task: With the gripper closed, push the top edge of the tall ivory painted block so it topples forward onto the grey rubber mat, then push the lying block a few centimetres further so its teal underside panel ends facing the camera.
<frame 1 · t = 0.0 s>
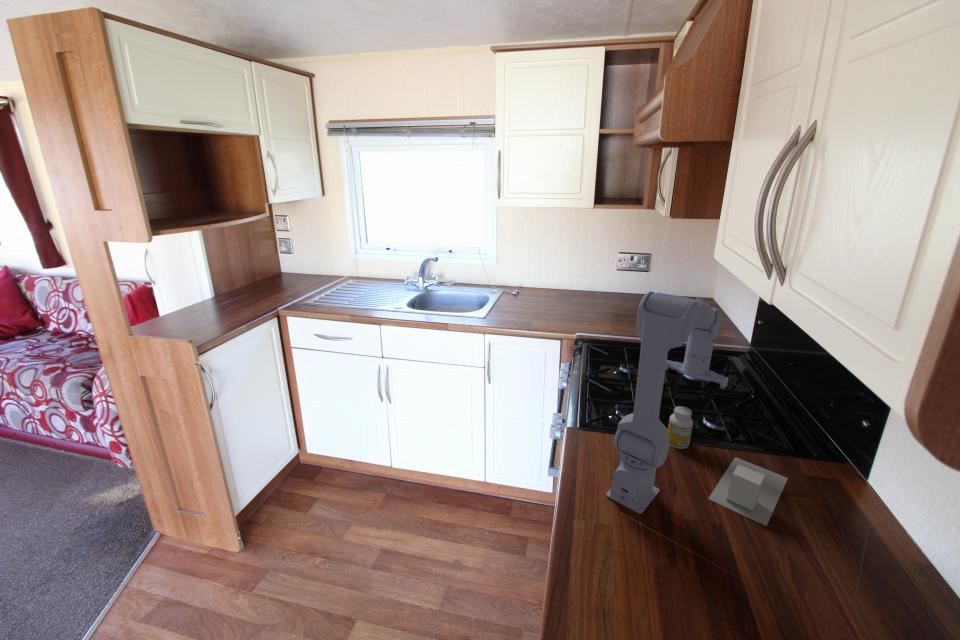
hand: (689, 402, 115), 10 cm above the counter, fingers open, 7 cm apart
supplement bottle: (677, 443, 116), on the counter
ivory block: (741, 501, 96), resting on grey mat
grey mat: (748, 489, 100), on the counter
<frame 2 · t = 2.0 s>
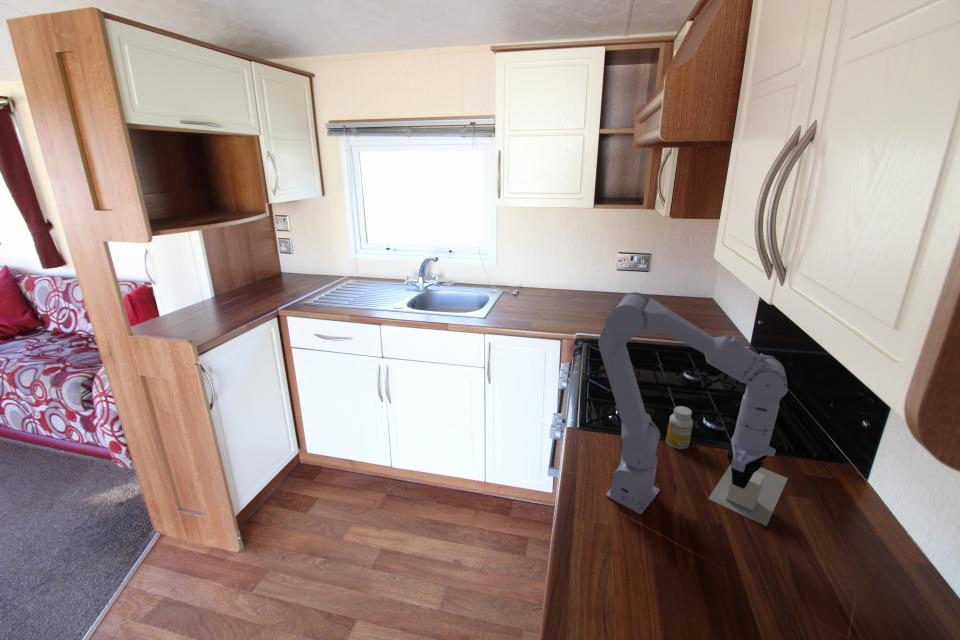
hand: (740, 482, 88), 10 cm above the counter, fingers closed
nothing on the counter moved.
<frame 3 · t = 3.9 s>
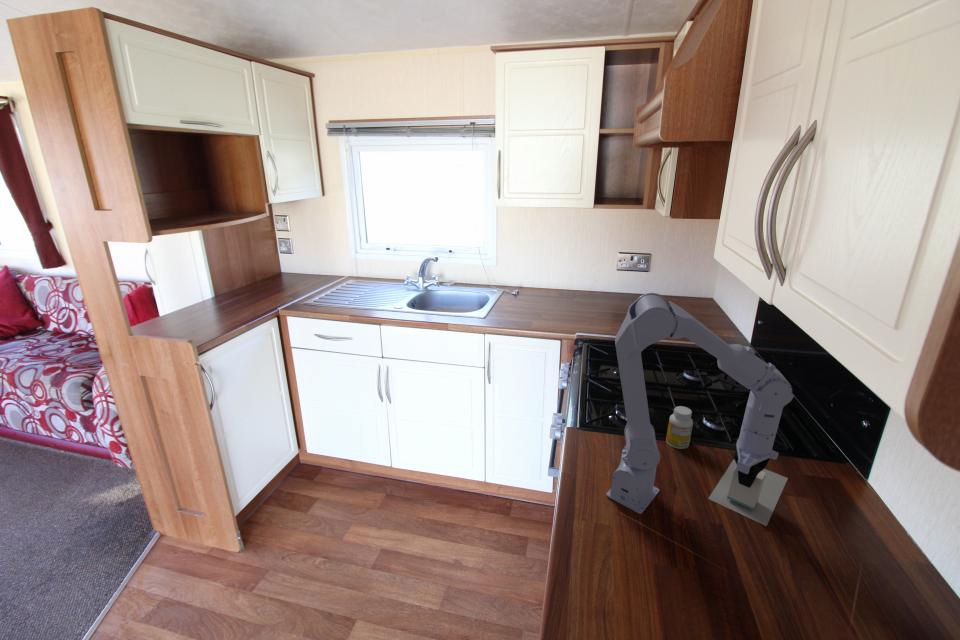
hand: (745, 484, 93), 6 cm above the counter, fingers closed
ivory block: (742, 500, 96), point 1 cm above the counter, tilted 10°, touching grey mat
everything else where it was.
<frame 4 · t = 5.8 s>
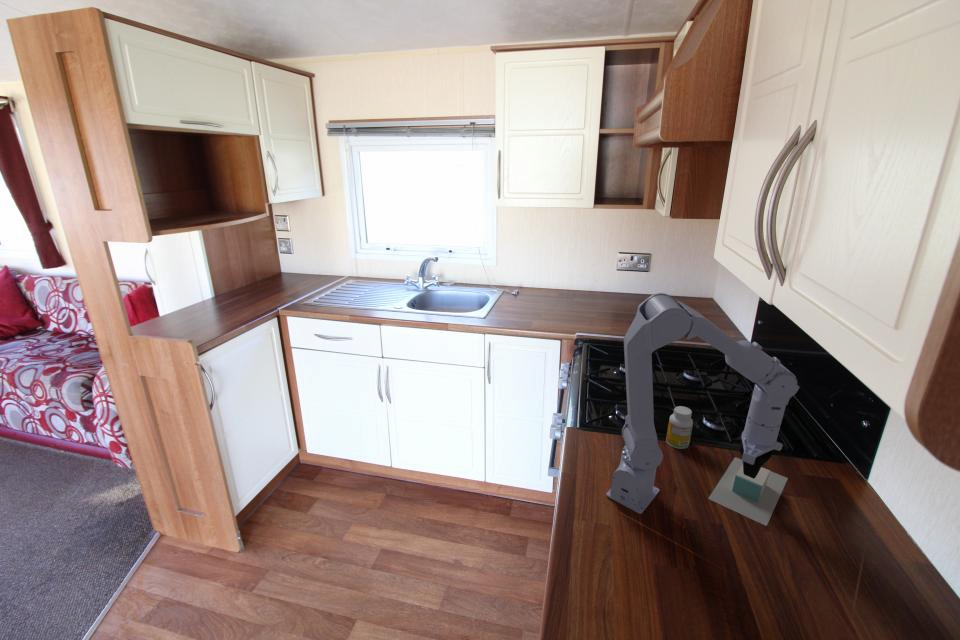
hand: (749, 475, 95), 6 cm above the counter, fingers closed
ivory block: (746, 488, 97), point 2 cm above the counter, tilted 90°, touching grey mat
everything else where it was.
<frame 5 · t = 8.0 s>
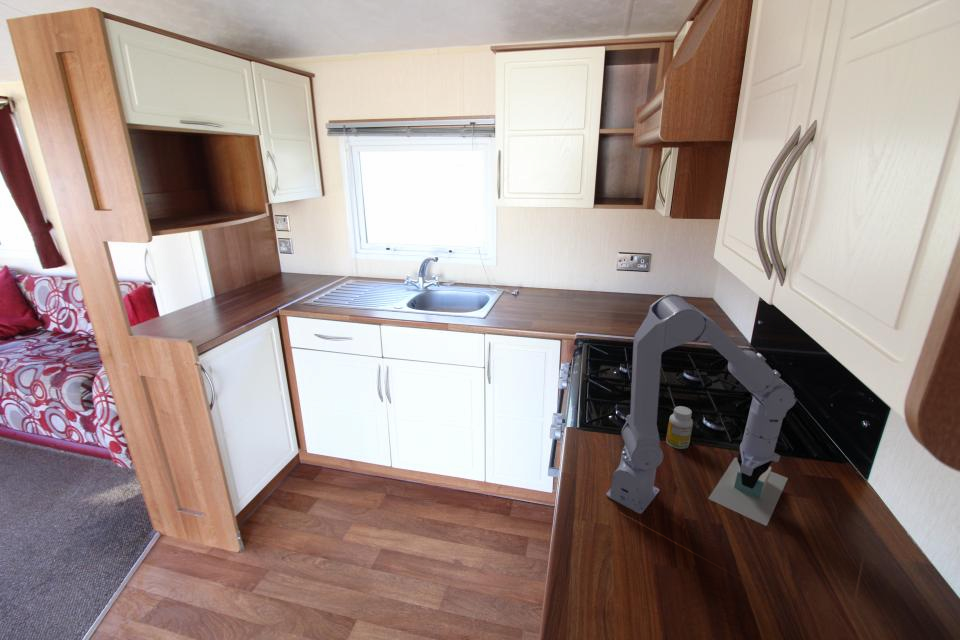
hand: (748, 485, 97), 3 cm above the counter, fingers closed
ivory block: (748, 485, 98), point 2 cm above the counter, tilted 90°, touching grey mat
everything else where it was.
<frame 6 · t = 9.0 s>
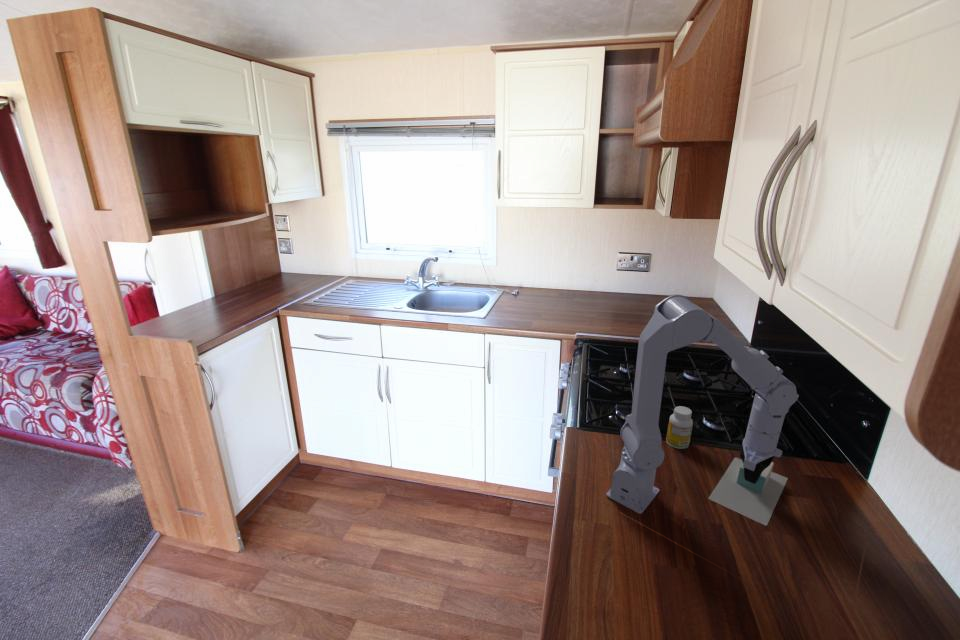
hand: (750, 480, 98), 3 cm above the counter, fingers closed
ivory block: (750, 480, 99), point 2 cm above the counter, tilted 90°, touching grey mat, gripper
everything else where it was.
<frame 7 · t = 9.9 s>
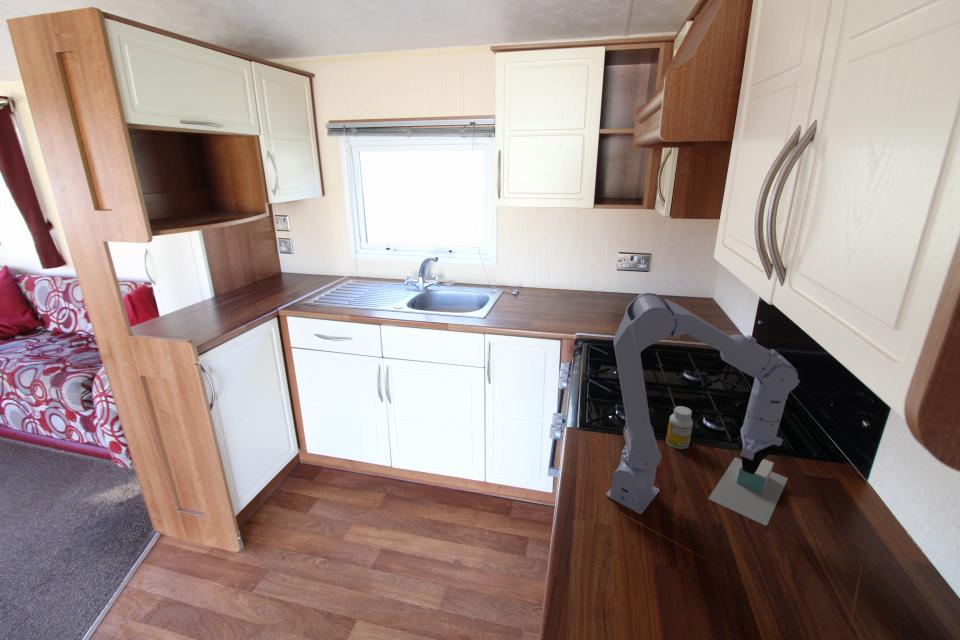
hand: (748, 471, 93), 8 cm above the counter, fingers closed
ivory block: (750, 480, 99), point 2 cm above the counter, tilted 90°, touching grey mat
everything else where it was.
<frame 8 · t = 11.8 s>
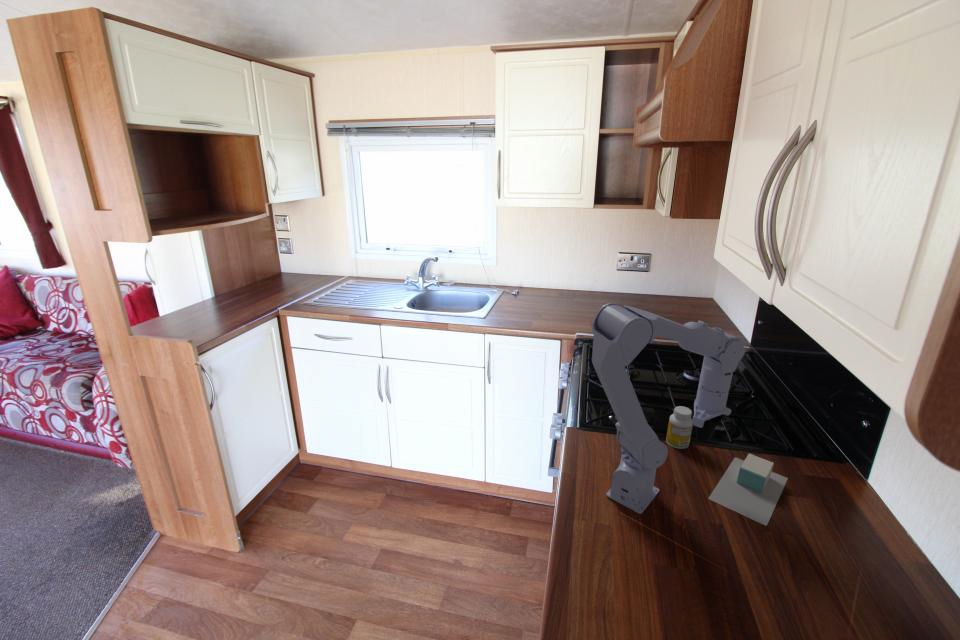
hand: (702, 440, 100), 10 cm above the counter, fingers closed
nothing on the counter moved.
at the end: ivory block tilted 90°; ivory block inside the target area (3.0 cm from its centre), point 2.3 cm above the counter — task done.
